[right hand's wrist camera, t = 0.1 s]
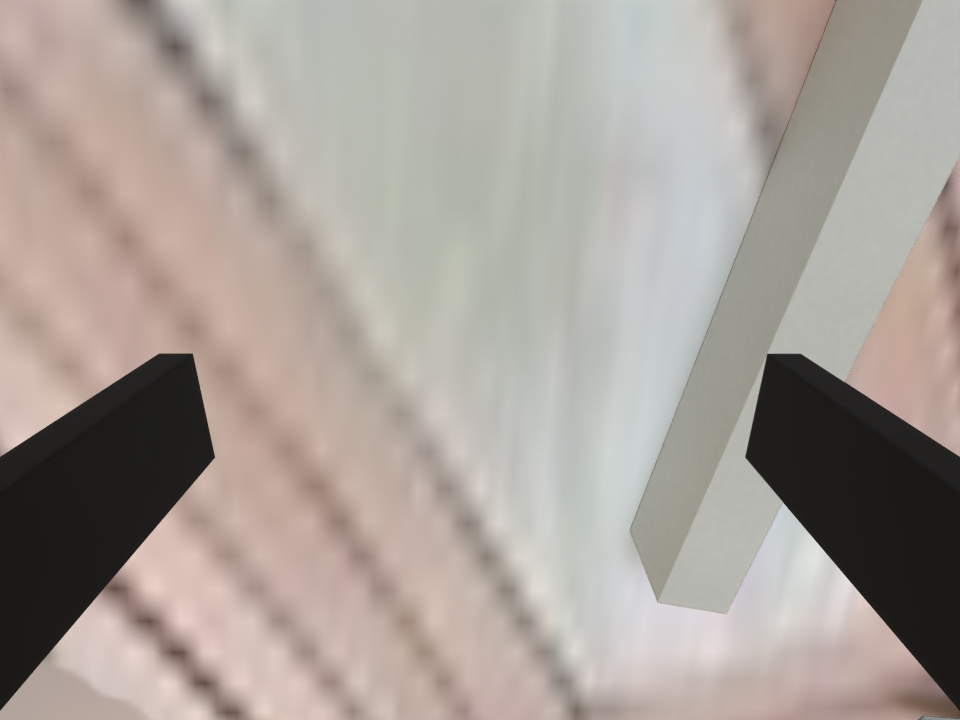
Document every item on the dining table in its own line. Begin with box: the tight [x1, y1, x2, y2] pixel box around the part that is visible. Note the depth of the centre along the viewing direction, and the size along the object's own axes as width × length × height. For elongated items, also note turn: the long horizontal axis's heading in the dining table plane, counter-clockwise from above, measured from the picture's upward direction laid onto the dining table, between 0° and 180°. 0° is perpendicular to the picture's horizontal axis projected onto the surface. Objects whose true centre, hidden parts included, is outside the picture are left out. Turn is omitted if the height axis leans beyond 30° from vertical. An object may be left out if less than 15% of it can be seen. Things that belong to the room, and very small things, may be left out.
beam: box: [630, 0, 960, 614], centre depth 34 cm, size 59×6×8 cm, turn 168°
